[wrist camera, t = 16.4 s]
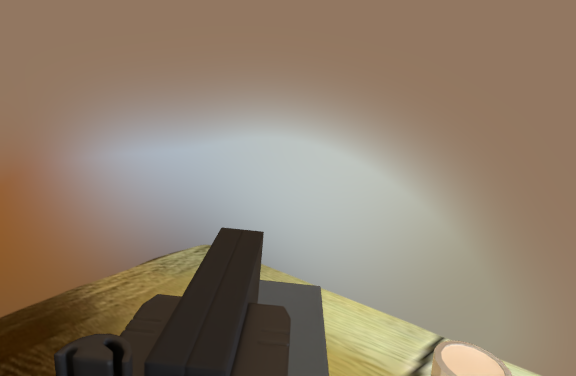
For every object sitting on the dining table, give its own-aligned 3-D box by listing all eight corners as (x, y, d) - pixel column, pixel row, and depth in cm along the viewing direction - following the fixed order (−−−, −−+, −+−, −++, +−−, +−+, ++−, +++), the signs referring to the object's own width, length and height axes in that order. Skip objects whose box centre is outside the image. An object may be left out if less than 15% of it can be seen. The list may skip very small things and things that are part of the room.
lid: (210, 281, 39) (210, 274, 38) (319, 292, 39) (320, 286, 38) (152, 403, 24) (152, 393, 23) (331, 423, 24) (332, 413, 23)
